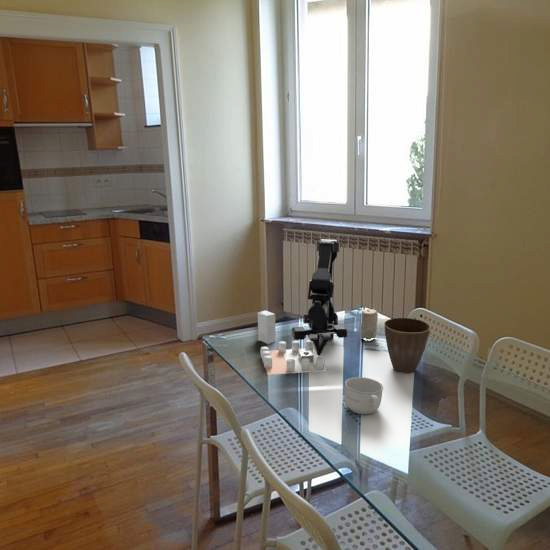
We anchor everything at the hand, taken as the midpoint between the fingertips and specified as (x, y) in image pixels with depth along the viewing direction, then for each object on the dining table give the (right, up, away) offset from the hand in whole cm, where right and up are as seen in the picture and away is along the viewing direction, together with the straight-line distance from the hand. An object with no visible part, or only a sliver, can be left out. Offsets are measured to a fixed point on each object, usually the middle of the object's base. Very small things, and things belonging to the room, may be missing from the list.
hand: (318, 355), depth 180 cm
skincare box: (-19, +2, +17) cm, 25 cm away
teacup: (+10, -11, -33) cm, 36 cm away
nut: (-4, -2, 0) cm, 5 cm away
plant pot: (+29, -4, -5) cm, 29 cm away
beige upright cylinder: (+21, +3, +22) cm, 30 cm away
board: (-9, -3, -1) cm, 10 cm away
